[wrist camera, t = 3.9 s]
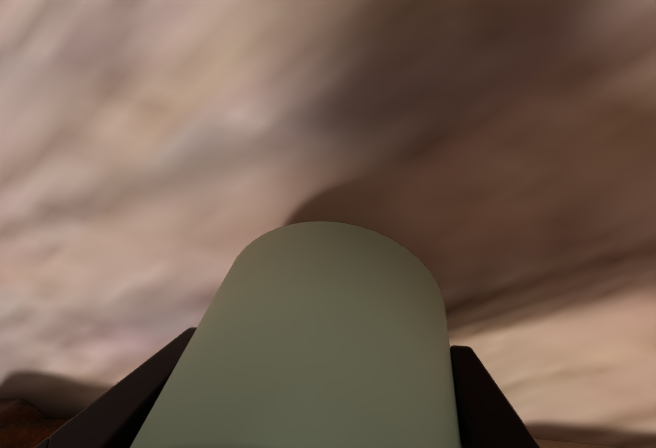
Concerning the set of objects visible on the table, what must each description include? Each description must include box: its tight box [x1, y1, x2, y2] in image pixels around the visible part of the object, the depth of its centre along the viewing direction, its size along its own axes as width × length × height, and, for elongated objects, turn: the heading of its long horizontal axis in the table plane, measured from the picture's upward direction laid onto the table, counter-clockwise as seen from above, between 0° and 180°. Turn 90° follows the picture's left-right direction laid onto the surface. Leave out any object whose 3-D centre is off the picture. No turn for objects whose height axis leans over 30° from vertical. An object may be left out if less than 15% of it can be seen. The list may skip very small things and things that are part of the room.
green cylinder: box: [130, 221, 462, 448], centre depth 8 cm, size 6×6×5 cm
